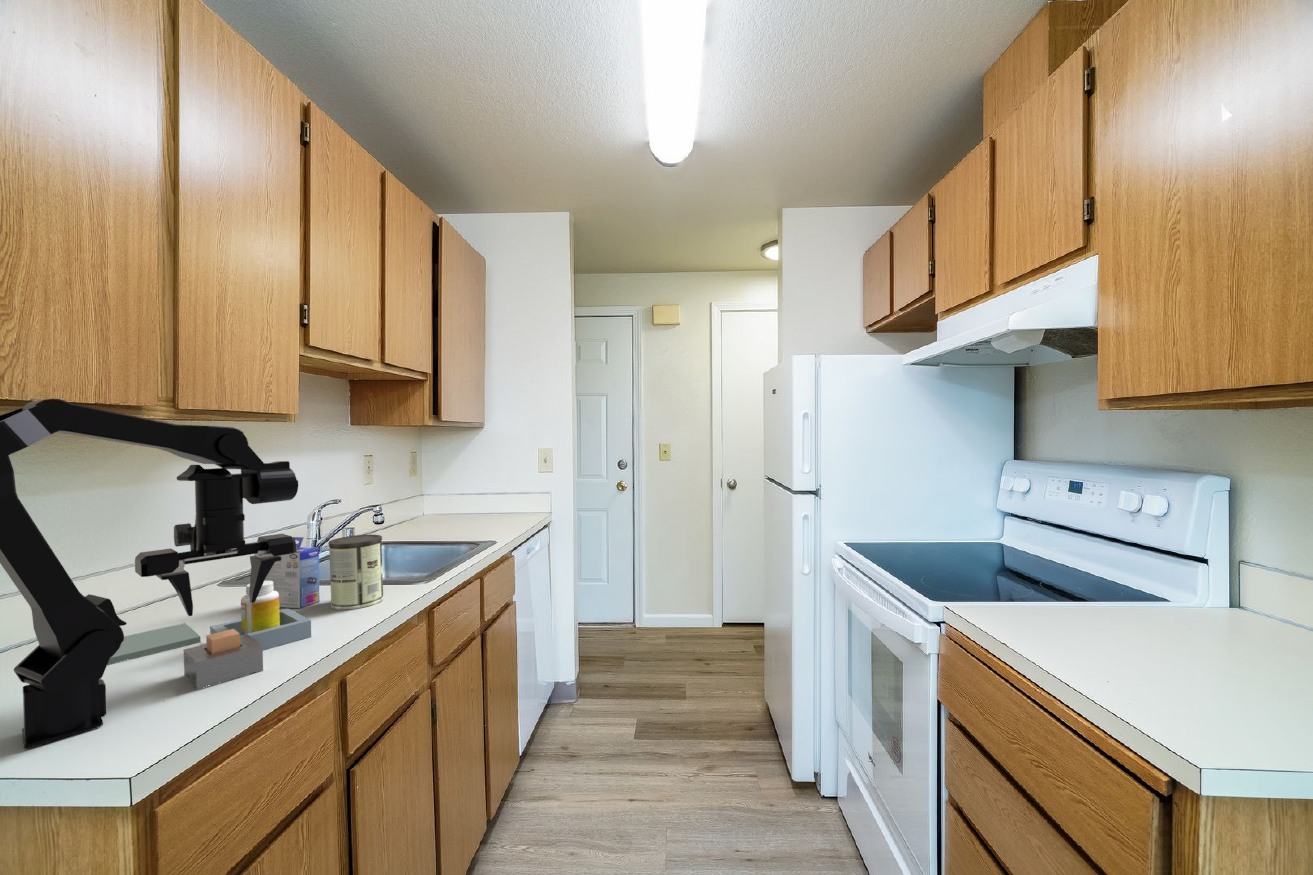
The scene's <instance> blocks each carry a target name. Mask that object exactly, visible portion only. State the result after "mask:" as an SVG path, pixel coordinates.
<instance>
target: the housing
mask: <svg viewBox="0 0 1313 875" xmlns="http://www.w3.org/2000/svg"><path fill="white" fill-rule="evenodd" d="M279 614H280V626H277V627H273V628H269V629H265V630H261V631H257V632H253V633H249V634H248V635H249V636H251V637H252V638H254V639H255V640H256V641H258V642H259V643H261V644H262V645H263V651H264V650H267V649H268V650H269V649H271V648H274V647H275V646H276V647H280V646H282V645H286V644H290V643H294V642H298V641H300V640H305V639H309V638H312V620H311V619H309V618H307V617H305V616H304V615H301V614H300V613H297V612H296V611H294V610H292V609H290V608H288V607H286V608H283V609H279ZM231 629H234V630H236V631H237V632H238V633H240V636H241V635H242V623H241V618H239V619H234V620H231V621H225V622H222V623H218V624H214V625H210V626H209V633H210V634H214V633H218V632H222V631H227V630H231ZM210 634H209V635H210Z"/></svg>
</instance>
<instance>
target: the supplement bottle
mask: <svg viewBox="0 0 1313 875" xmlns="http://www.w3.org/2000/svg"><path fill="white" fill-rule="evenodd" d="M249 590H250V583H248V584H247V585H246V586H245V594H244V596H242V597H241V599H240V617H241V618H240V619H241V623H242V635H245V634H249V633H253V632H257V631H261V630H265V629H269V628H273V627H277V626H280V614H279V610H280V607H279V593H278V592H277V591H273V590H274V587H273V581H264V583H263V585H262V587H261V589H260V592H259V594H258V596H257V598H256V601H255V602H254V603H251V602H250V596H249Z"/></svg>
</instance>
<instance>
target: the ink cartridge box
mask: <svg viewBox="0 0 1313 875" xmlns="http://www.w3.org/2000/svg"><path fill="white" fill-rule="evenodd" d="M292 537H293V538H294V539H295V541H298V543H296V553H292V554H286V555H280V557H282V560H281V561H276V562H275V563H274V565H273V566H272V568H271V570H270V571H269V573H268V575H267V576H266V578H265V580H264V581H273V587H274V590H273V591H277V592H278V593H279V608H288V609H290V608H291V609H292V608H293V609H301V608H304V607H307V606H310V605H314V604H317V603H320V548H319V547H317V546H316V547H311V546H310V547H309V546H307V547H306V546H305V547H304V546H302V543H303V540H304V537H303V536H302V537H301V536H300V537H299V536H292ZM301 546H302V547H301Z"/></svg>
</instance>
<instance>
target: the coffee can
mask: <svg viewBox="0 0 1313 875" xmlns="http://www.w3.org/2000/svg"><path fill="white" fill-rule="evenodd" d="M382 541H383V536H382V535H380V534H358V535H349V536H348V535H347V536H343V537H338V538H334V539H332V540H329V541H328V546H329V550H328V551H329V575H330V576H329V578H330V579H329V580H330V603H331V604H330V608H331V609H333V610H338V611H339V610H341V611H345V610H357V609H362V608H367V607H371V606H374V605H377V604H379V603H381V602H383V601H384V582H383V581H384V580H383V579H384V578H383V551H382V550H383V548H382V545H383V544H382Z"/></svg>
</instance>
